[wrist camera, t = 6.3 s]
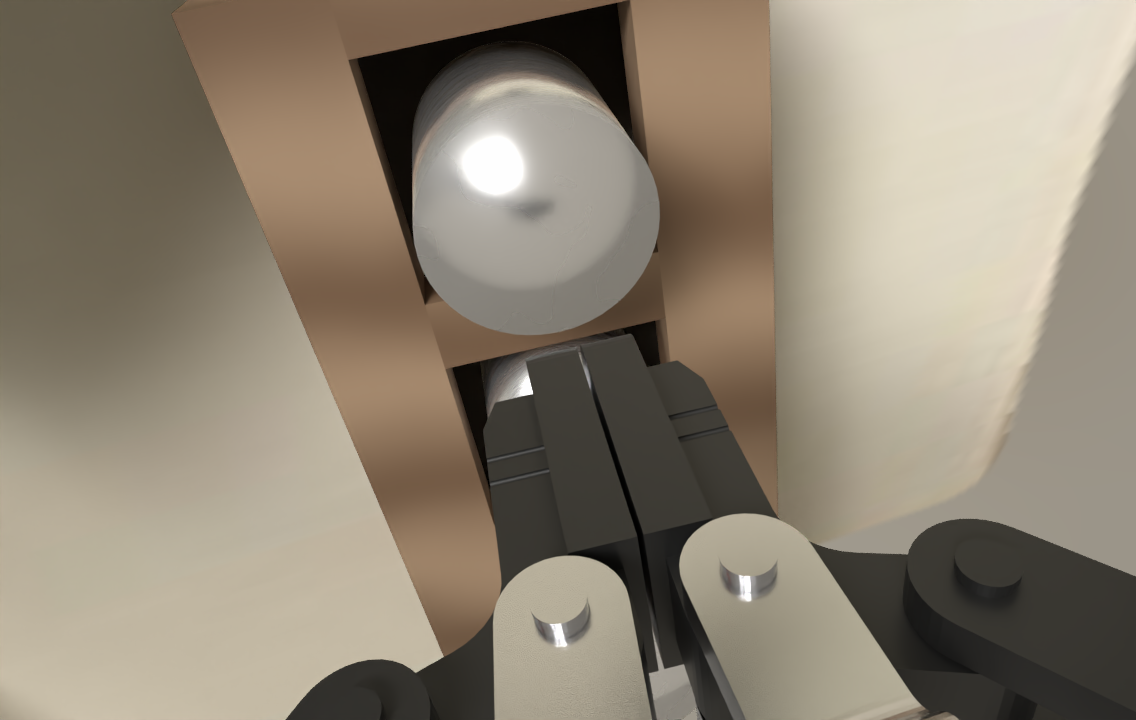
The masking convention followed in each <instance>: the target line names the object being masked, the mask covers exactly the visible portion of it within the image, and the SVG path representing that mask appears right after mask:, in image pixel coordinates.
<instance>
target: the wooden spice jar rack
mask: <svg viewBox="0 0 1136 720" xmlns="http://www.w3.org/2000/svg"><path fill="white" fill-rule="evenodd" d="M613 3H617V5H618V14H619V22H620V30H621V39H622V47H623V55H624V64H625V72H626V80H627V89H628V97H629V105H630V114H631V122H632V130H633V139H634V145H635V146H636V148H637V149H638V150H639V152H640V153H641V155H642V156H643V158H644V159H645V161H646V163H647V165H648V167H649V169H650V171H651V173H652V175H653V178H654V181H655V184H656V187H657V192H658V198H659V208H660V221H659V231H658V236H657V240H656V244H655V248H654V250H653V253H652V256H651V258H650V261H649V262H648V264H647V266H646V268H645V270H644V272H643V274H642V275H641V276H640V278H639V279H638V281H637V282H636V284H635V285H634V286H633V287H632V288H631V290H630V291H629V292H628V293H627V294H626V295H625V296H624V297H623V298H622V299H621V300H620V301H619V302H618V303H616V304H615V305H614V306H613V307H612V308H610V309H609V310H607V311H606V312H604V313H603V314H602V315H600V316H598V317H596V318H594V319H593V320H591V321H589V322H587V323H584V324H582V325H580V326H577V327H575V328H571V329H568V330H564V331H561V332H556V333H550V334H543V335H516V334H510V333H504V332H499V331H496V330H493V329H489V328H486V327H484V326H481V325H479V324H477V323H474V322H472V321H471V320H469V319H467V318H466V317H464V316H462V315H461V314H459V313H458V312H457V311H455V310H454V309H453V308H451V307H450V306H449V305H448V304H447V303H446V302H445V301H444V300H443V299H442V298H441V297H440V296H439V295H438V294H437V292H436V291H435V290H434V288H433V287H432V286H431V284H430V283H429V281H428V279H427V277H424V275H423V272H422V268H421V265H420V262H419V260H418V257H417V253H416V249H415V246H414V242H413V239H412V236H411V233H410V229H409V226H408V223H407V220H406V216H405V213H404V210H403V207H402V203H401V200H400V197H399V194H398V190H397V187H396V184H395V181H394V177H393V174H392V171H391V168H390V164H389V161H388V158H387V155H386V151H385V148H384V145H383V142H382V138H381V135H380V132H379V129H378V125H377V122H376V119H375V116H374V112H373V109H372V106H371V103H370V99H369V96H368V93H367V90H366V86H365V83H364V80H363V77H362V73H361V70H360V67H359V64H358V60H357V58H360V57H365V56H370V55H374V54H379V53H384V52H388V51H393V50H398V49H402V48H407V47H412V46H416V45H421V44H426V43H430V42H435V41H440V40H444V39H449V38H454V37H458V36H463V35H468V34H472V33H477V32H482V31H487V30H491V29H496V28H501V27H505V26H510V25H515V24H519V23H524V22H529V21H533V20H538V19H543V18H547V17H552V16H557V15H561V14H566V13H571V12H575V11H580V10H585V9H589V8H594V7H599V6H603V5H608V4H613ZM171 15H172V17H173V20H174V22H175V24H176V27H177V29H178V31H179V34H180V36H181V38H182V41H183V43H184V46H185V48H186V50H187V53H188V55H189V57H190V60H191V62H192V64H193V67H194V69H195V71H196V74H197V76H198V78H199V81H200V83H201V86H202V88H203V90H204V93H205V95H206V97H207V100H208V102H209V104H210V107H211V109H212V111H213V114H214V116H215V119H216V121H217V123H218V126H219V128H220V130H221V133H222V135H223V137H224V140H225V142H226V144H227V147H228V149H229V151H230V154H231V156H232V159H233V161H234V163H235V166H236V168H237V170H238V173H239V175H240V177H241V180H242V182H243V184H244V187H245V189H246V192H247V194H248V196H249V199H250V201H251V203H252V206H253V208H254V210H255V213H256V215H257V217H258V220H259V222H260V224H261V227H262V229H263V232H264V234H265V236H266V239H267V241H268V243H269V246H270V248H271V250H272V253H273V255H274V257H275V260H276V262H277V264H278V267H279V269H280V272H281V274H282V276H283V279H284V281H285V283H286V286H287V288H288V290H289V293H290V295H291V297H292V300H293V302H294V305H295V307H296V309H297V312H298V314H299V316H300V319H301V321H302V323H303V326H304V328H305V330H306V333H307V335H308V337H309V340H310V342H311V345H312V347H313V349H314V352H315V354H316V356H317V359H318V361H319V363H320V366H321V368H322V370H323V373H324V375H325V378H326V380H327V382H328V385H329V387H330V389H331V392H332V394H333V396H334V399H335V401H336V403H337V406H338V408H339V410H340V413H341V415H342V418H343V420H344V422H345V425H346V427H347V429H348V432H349V434H350V436H351V439H352V441H353V443H354V446H355V448H356V450H357V453H358V455H359V458H360V460H361V462H362V465H363V467H364V469H365V472H366V474H367V476H368V479H369V481H370V483H371V486H372V488H373V491H374V493H375V495H376V498H377V500H378V502H379V505H380V507H381V509H382V512H383V514H384V516H385V519H386V521H387V523H388V526H389V528H390V531H391V533H392V535H393V538H394V540H395V542H396V545H397V547H398V549H399V552H400V554H401V556H402V559H403V561H404V564H405V566H406V568H407V571H408V573H409V575H410V578H411V580H412V582H413V585H414V587H415V589H416V592H417V594H418V596H419V599H420V601H421V604H422V606H423V608H424V611H425V613H426V615H427V618H428V620H429V622H430V625H431V627H432V629H433V632H434V634H435V636H436V639H437V641H438V644H439V646H440V648H441V651H442V653H443V655H444V657H445V656H447V655H448V654H450V653H452V652H454V651H455V650H457V649H458V648H460V647H461V646H463V645H464V644H466V643H467V642H468V641H469V640H470V639H472V638H473V637H474V636H475V635H476V634H477V633H478V632H479V631H480V630H481V629H482V628H483V626H484V625H485V624H486V622H487V621H488V619H489V618H490V617H491V615H492V613H493V611H494V609H495V607H496V603H497V601H498V599H499V596H500V591H501V571H500V563H499V555H498V546H497V538H496V530H495V522H494V514H493V506H492V498H491V491H490V490H489V486H488V483H487V480H486V477H485V473H484V470H483V467H482V464H481V460H480V457H479V454H478V451H477V447H476V444H475V441H474V438H473V434H472V431H471V428H470V425H469V421H468V418H467V415H466V412H465V408H464V405H463V402H462V399H461V395H460V392H459V389H458V386H457V382H456V379H455V376H454V373H453V369H452V367H456V366H461V365H465V364H469V363H474V362H478V361H482V360H486V359H491V358H495V357H499V356H504V355H508V354H512V353H517V352H521V351H525V350H530V349H534V348H538V347H543V346H547V345H551V344H556V343H560V342H564V341H569V340H573V339H577V338H582V337H586V336H590V335H595V334H599V333H603V332H608V331H612V330H616V329H621V328H625V327H629V326H634V325H638V324H642V323H647V322H651V321H655V322H656V331H657V339H658V347H659V356H660V364H663V363H667V362H672V361H676V360H678V361H679V362H681V363H682V364H683V365H685V366H686V367H688V368H689V369H691V370H692V371H693V372H695V373H696V374H698V375H699V376H701V377H702V378H703V379H704V380H705V382H706V384H707V386H708V388H709V390H710V391H711V393H712V395H713V397H714V399H715V401H716V403H717V406H718V409H720V410H721V412H722V414H723V416H724V418H725V420H726V422H727V424H728V427H729V430H730V431H732V433H733V435H734V437H735V439H736V441H737V443H738V444H739V446H740V448H741V450H742V452H743V454H744V456H745V458H746V460H747V461H748V463H749V465H750V467H751V469H752V471H753V473H754V475H755V477H756V478H757V480H758V482H759V484H760V486H761V488H762V490H763V492H764V494H765V495H766V497H767V499H768V501H769V503H770V505H771V507H772V509H773V510H774V512H775V513H776V515H777V517H778V490H777V432H776V374H775V316H774V258H773V200H772V142H771V84H770V26H769V0H187V1H186V2H185V3H184V4H183V5H181V6H180V7H179V8H178V9H177V10H175V11H174V12H173V13H172V14H171Z"/></svg>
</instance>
